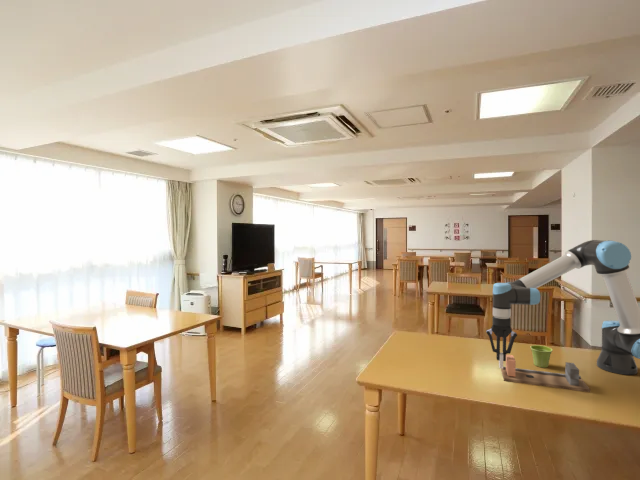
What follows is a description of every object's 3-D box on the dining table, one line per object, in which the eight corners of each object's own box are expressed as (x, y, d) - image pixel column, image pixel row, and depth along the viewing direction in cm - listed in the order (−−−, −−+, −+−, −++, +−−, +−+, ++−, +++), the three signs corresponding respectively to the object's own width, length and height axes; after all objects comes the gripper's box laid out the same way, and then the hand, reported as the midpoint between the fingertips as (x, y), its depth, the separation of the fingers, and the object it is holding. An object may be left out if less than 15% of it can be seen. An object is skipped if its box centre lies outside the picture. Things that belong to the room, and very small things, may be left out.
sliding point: (513, 370, 169) (513, 355, 169) (515, 376, 162) (515, 361, 161) (505, 369, 170) (506, 354, 170) (507, 375, 163) (508, 360, 162)
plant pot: (555, 369, 173) (556, 352, 173) (534, 368, 175) (534, 350, 175) (547, 362, 182) (547, 345, 182) (527, 361, 184) (527, 344, 184)
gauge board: (581, 380, 161) (581, 362, 161) (590, 392, 150) (590, 372, 150) (501, 370, 173) (501, 353, 172) (504, 380, 161) (504, 362, 161)
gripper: (516, 316, 167) (515, 366, 168) (485, 313, 172) (485, 362, 173) (518, 320, 160) (518, 372, 161) (486, 317, 165) (486, 368, 166)
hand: (501, 367), depth 167 cm, fingers closed
